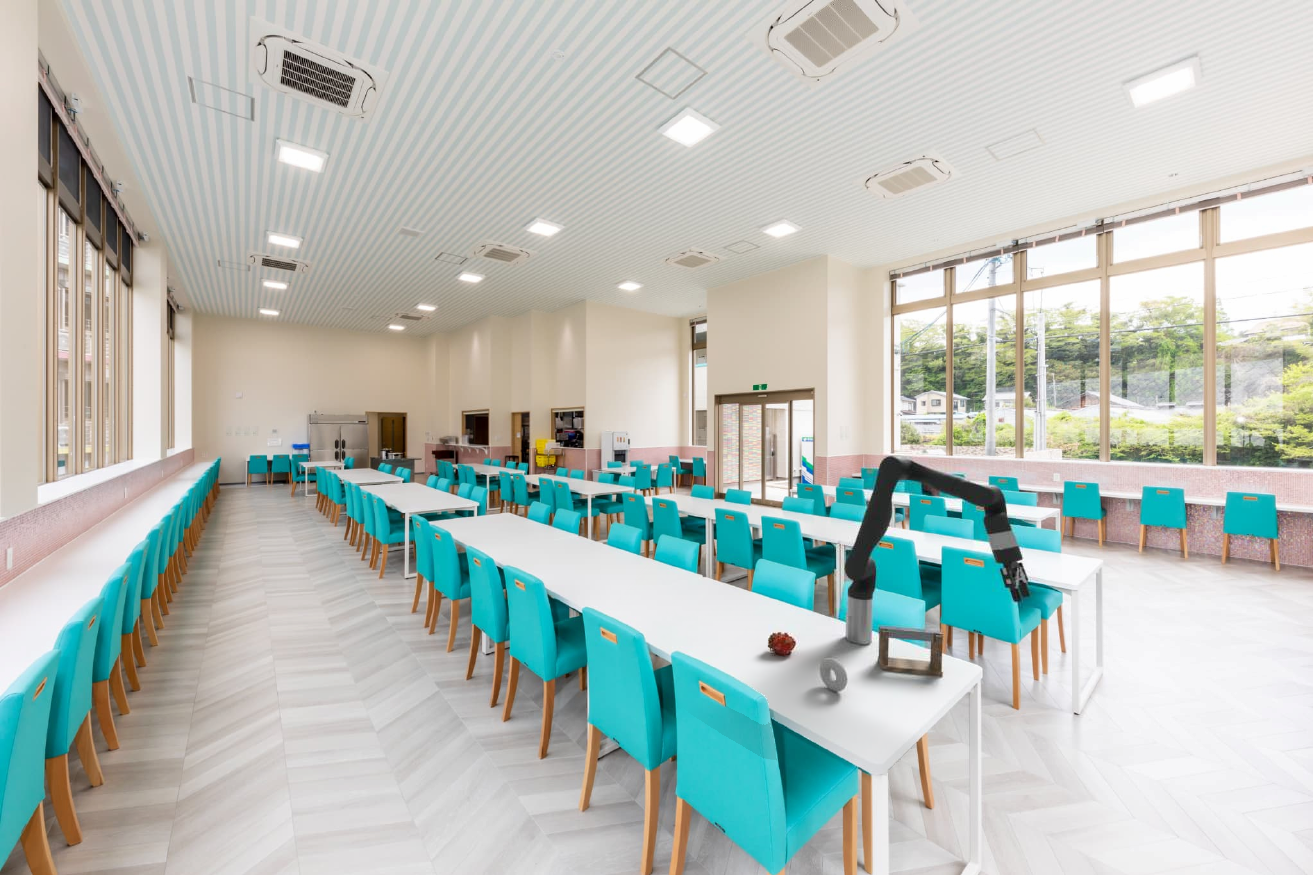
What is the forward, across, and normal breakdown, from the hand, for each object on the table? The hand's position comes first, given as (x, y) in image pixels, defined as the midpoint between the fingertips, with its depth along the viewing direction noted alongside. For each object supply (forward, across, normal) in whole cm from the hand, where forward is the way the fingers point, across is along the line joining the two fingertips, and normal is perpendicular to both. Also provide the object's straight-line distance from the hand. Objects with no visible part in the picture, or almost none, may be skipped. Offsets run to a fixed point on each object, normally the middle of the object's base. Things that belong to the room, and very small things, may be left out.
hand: (1022, 599), depth 166 cm
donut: (+17, +41, -48) cm, 65 cm away
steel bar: (+9, +6, -36) cm, 38 cm away
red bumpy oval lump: (+8, +30, -73) cm, 80 cm away
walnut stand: (+19, +6, -40) cm, 44 cm away
